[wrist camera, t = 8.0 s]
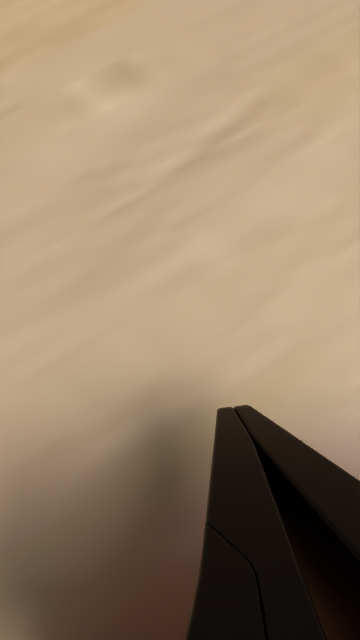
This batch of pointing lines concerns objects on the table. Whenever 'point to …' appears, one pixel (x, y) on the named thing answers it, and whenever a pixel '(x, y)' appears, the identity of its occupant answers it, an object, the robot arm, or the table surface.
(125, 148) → the table surface
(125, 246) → the table surface
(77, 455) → the table surface
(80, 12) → the table surface
